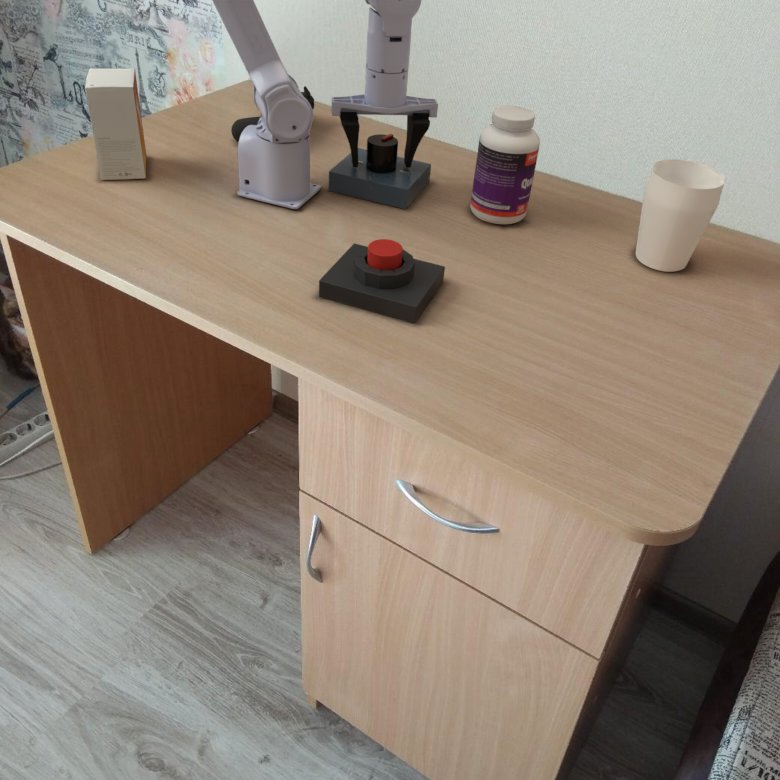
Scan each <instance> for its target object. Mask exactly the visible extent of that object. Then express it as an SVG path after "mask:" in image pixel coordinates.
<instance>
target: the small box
mask: <svg viewBox="0 0 780 780" xmlns="http://www.w3.org/2000/svg"><path fill="white" fill-rule="evenodd" d="M136 73H137V72H136V68H107V67H105V68H104V67H103V68H97V67H96V68H94V67H93V68H92V67H91V68H89V69H88V71H87V74H86V75H87V76H86V78H85V85H84V91H85V98H86V103H87V108H88V115H89V120H90V124H91V125H90V126H91V130H92V131H91V132H92V137H93V141H94V142H93V143H94V147H95V153H96V159H97V165H98V171H99V178H100V180H101V181H109V180H110V181H113V180H114V181H116V180H117V181H118V180H139V179H140V180H141V179H147V148H146V141H145V135H144V128H143V120H142V119H143V118H142V111H141V105H140V97H139V89H138V81H137V74H136Z"/></svg>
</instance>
